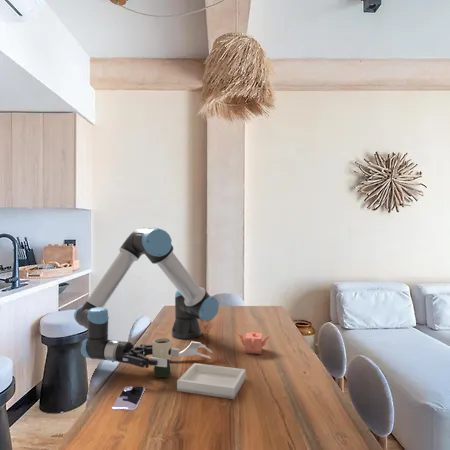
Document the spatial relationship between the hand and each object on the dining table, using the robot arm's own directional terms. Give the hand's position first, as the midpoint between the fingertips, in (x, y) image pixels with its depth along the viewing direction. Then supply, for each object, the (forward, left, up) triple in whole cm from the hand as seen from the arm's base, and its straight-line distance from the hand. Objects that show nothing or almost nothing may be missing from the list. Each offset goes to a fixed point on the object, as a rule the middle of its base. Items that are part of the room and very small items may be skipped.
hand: (172, 357), depth 133 cm
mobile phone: (+18, -7, -8) cm, 21 cm away
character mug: (0, -4, -7) cm, 8 cm away
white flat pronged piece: (-19, -1, -8) cm, 20 cm away
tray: (+1, +16, -7) cm, 17 cm away
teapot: (-36, +23, -8) cm, 43 cm away
